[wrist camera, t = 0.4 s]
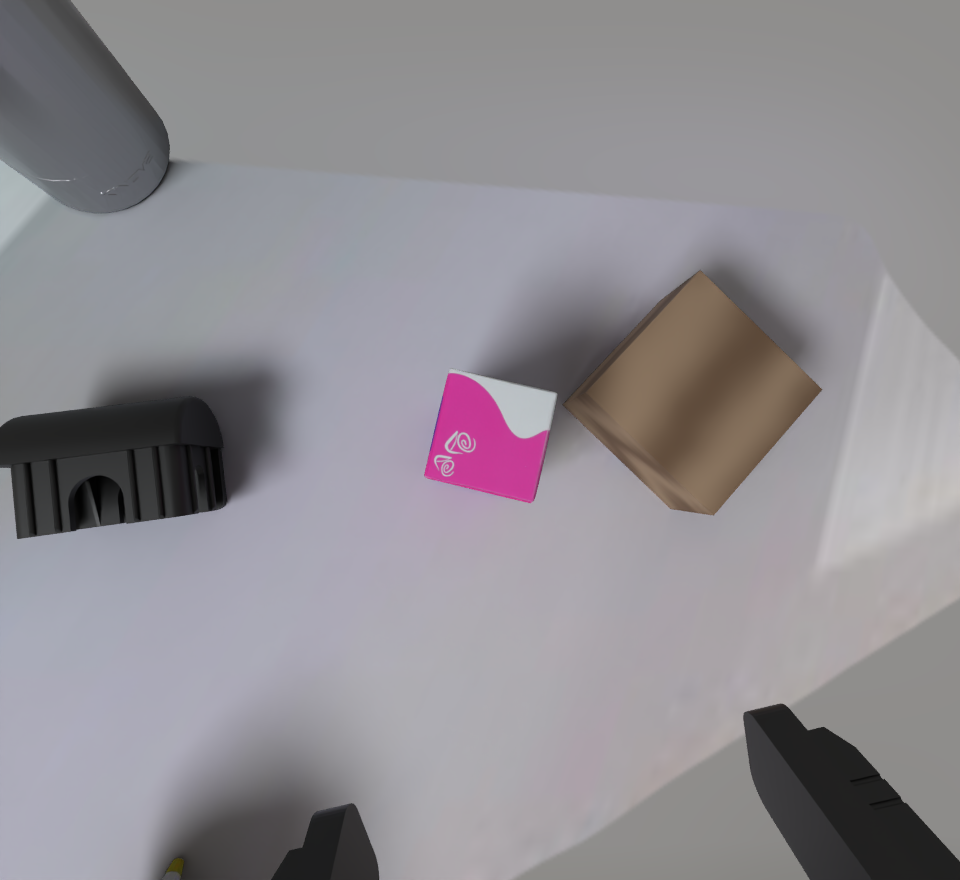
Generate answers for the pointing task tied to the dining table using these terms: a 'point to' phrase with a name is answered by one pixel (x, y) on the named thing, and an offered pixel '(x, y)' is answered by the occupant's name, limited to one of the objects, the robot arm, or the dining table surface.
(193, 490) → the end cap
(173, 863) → the alarm clock
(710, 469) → the walnut block
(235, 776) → the dining table surface
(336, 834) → the robot arm
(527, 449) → the supplement box
